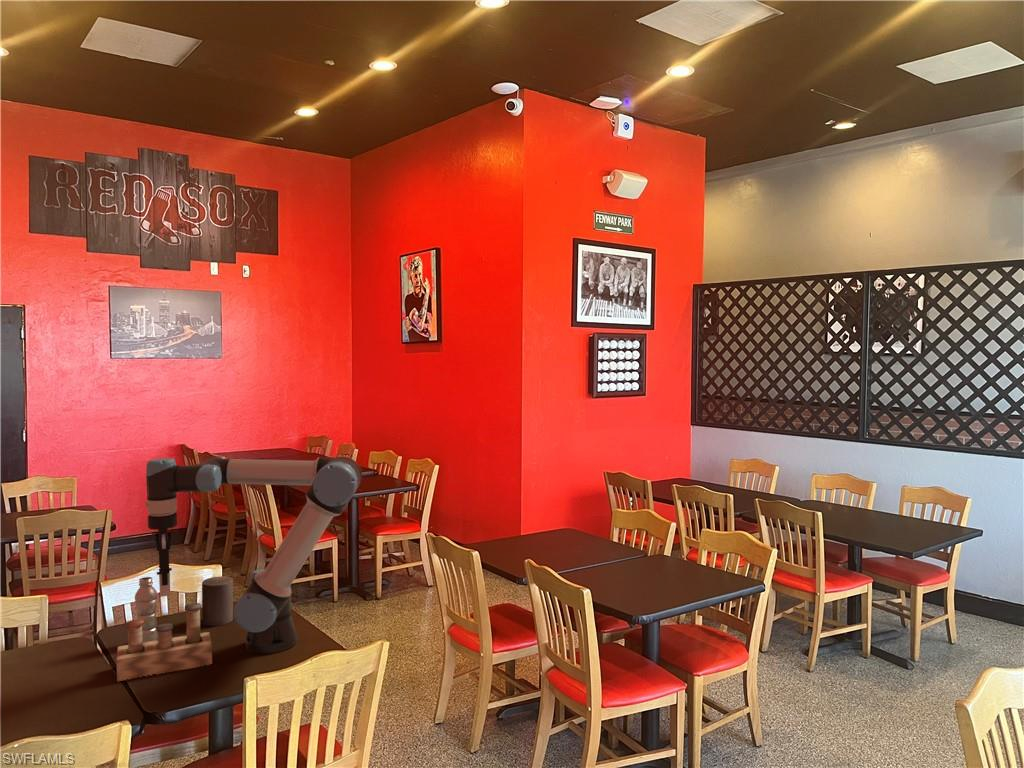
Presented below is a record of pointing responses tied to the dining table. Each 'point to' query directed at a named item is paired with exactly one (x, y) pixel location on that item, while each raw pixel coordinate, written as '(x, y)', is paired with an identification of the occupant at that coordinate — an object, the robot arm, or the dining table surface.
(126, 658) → the socket block
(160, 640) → the plug middle
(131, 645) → the plug terracotta
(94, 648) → the dining table surface
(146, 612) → the plastic bottle
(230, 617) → the pillar candle
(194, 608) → the plug left
